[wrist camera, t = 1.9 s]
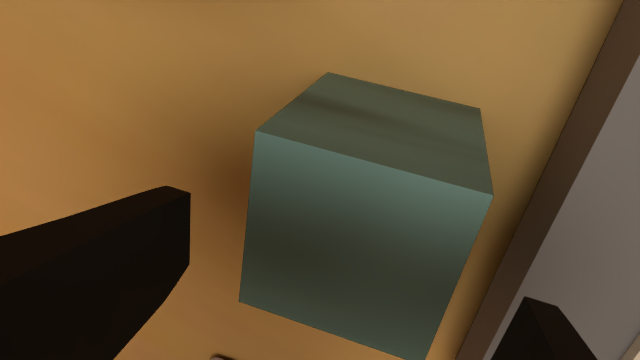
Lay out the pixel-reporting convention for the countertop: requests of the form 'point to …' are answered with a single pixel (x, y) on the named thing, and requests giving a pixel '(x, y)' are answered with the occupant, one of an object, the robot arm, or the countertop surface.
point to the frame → (582, 217)
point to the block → (364, 211)
